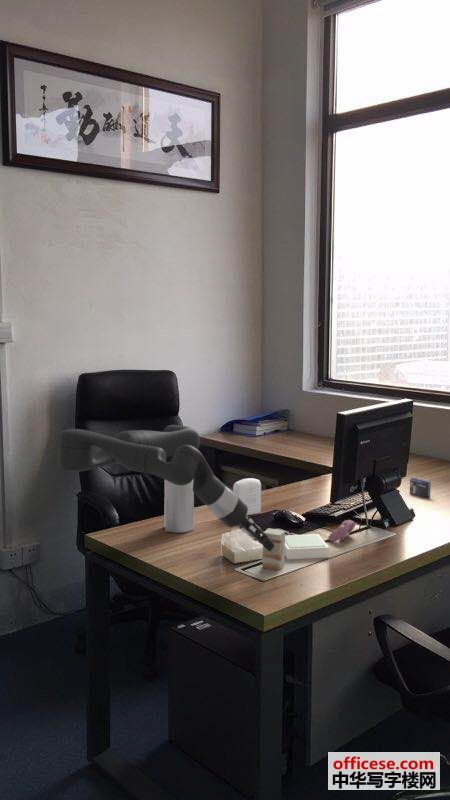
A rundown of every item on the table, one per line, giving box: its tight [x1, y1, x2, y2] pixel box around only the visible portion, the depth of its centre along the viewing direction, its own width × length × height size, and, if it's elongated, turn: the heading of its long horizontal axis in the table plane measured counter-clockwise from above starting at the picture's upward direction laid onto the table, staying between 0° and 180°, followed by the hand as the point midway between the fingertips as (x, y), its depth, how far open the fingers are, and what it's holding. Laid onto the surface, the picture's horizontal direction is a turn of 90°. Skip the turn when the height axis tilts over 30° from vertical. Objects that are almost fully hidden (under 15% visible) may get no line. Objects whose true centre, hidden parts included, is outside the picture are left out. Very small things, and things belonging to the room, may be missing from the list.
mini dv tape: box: [409, 477, 432, 499], centre depth 270 cm, size 8×2×6 cm, turn 37°
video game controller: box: [328, 519, 357, 542], centre depth 221 cm, size 10×5×7 cm, turn 149°
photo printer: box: [232, 477, 262, 516], centre depth 246 cm, size 10×4×12 cm, turn 123°
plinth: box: [284, 533, 330, 560], centre depth 210 cm, size 12×12×3 cm
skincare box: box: [261, 527, 286, 571], centre depth 197 cm, size 5×4×10 cm
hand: (265, 543), depth 195 cm, fingers open, 8 cm apart
